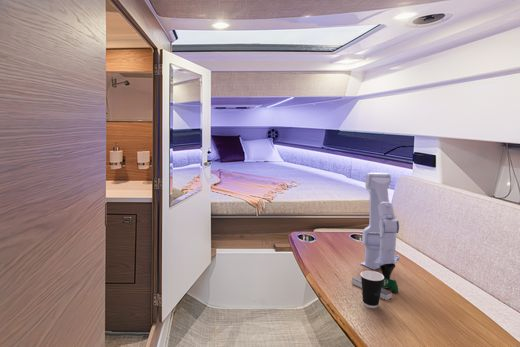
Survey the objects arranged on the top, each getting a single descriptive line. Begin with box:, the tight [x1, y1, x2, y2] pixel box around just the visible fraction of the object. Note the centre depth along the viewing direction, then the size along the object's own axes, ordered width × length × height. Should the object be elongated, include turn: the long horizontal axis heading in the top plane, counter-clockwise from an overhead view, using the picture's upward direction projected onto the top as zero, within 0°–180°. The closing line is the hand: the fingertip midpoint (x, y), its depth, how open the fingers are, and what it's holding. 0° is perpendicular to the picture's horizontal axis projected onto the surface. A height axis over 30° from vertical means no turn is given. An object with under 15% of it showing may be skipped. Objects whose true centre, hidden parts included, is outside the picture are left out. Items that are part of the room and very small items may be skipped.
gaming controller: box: [382, 277, 399, 294], centre depth 125 cm, size 9×4×6 cm
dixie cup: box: [360, 270, 384, 309], centre depth 112 cm, size 8×8×11 cm
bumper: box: [351, 276, 392, 301], centre depth 123 cm, size 3×16×2 cm, turn 33°
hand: (385, 280), depth 129 cm, fingers closed, pressing on gaming controller
